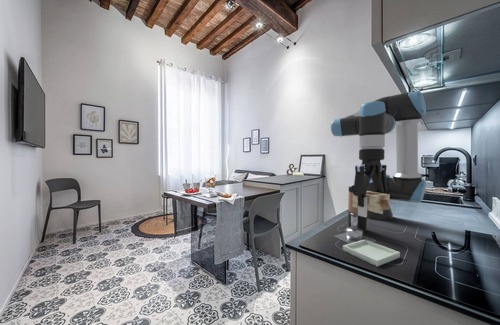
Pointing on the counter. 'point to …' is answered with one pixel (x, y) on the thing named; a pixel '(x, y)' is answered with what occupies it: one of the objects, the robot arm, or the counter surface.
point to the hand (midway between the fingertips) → (370, 214)
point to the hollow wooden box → (374, 201)
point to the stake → (353, 232)
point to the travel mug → (361, 220)
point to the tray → (371, 252)
